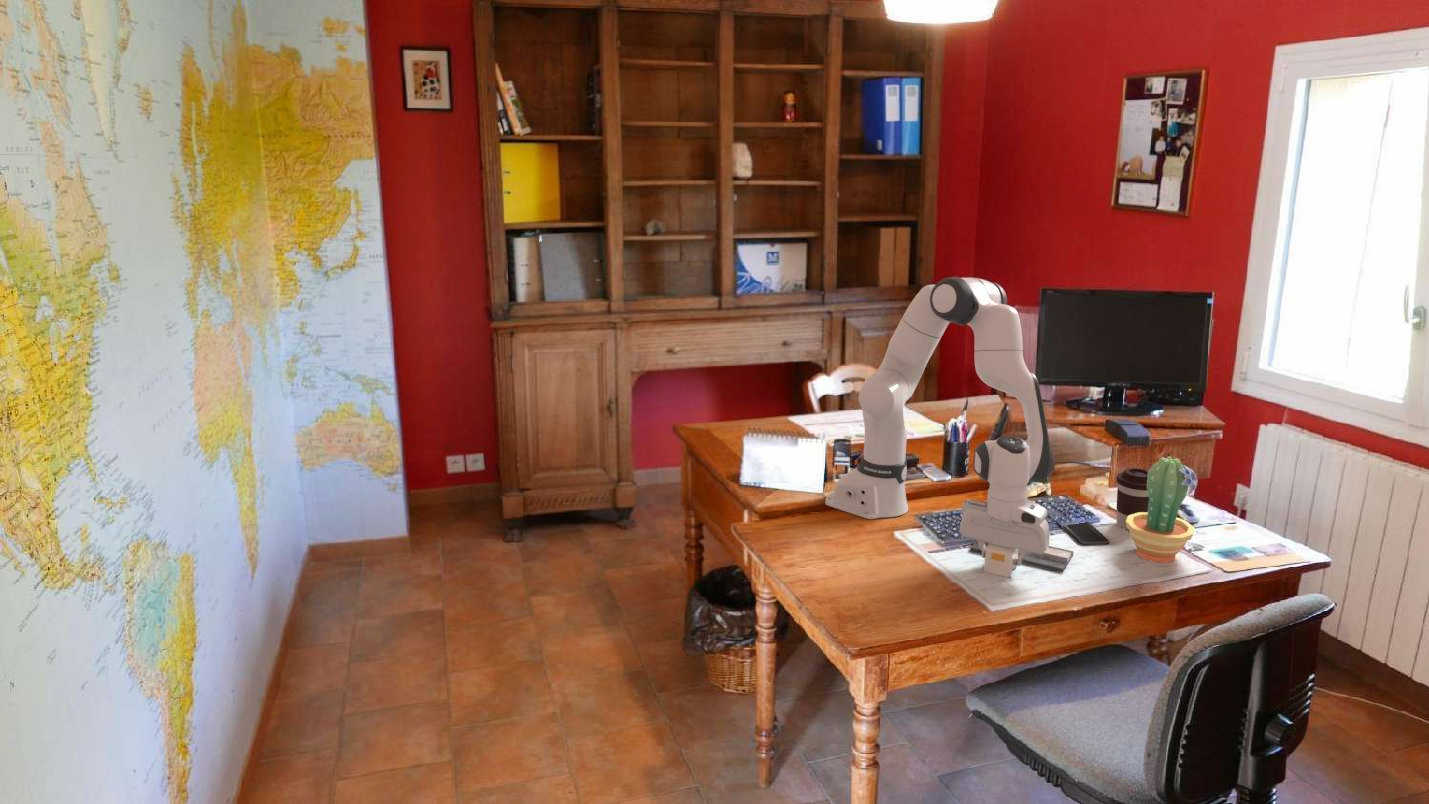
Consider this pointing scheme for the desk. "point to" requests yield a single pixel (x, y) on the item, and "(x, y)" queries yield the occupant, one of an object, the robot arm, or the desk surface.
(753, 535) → the desk surface
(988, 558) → the block
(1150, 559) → the potted cactus
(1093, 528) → the phone
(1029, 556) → the rail
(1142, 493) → the coffee cup
